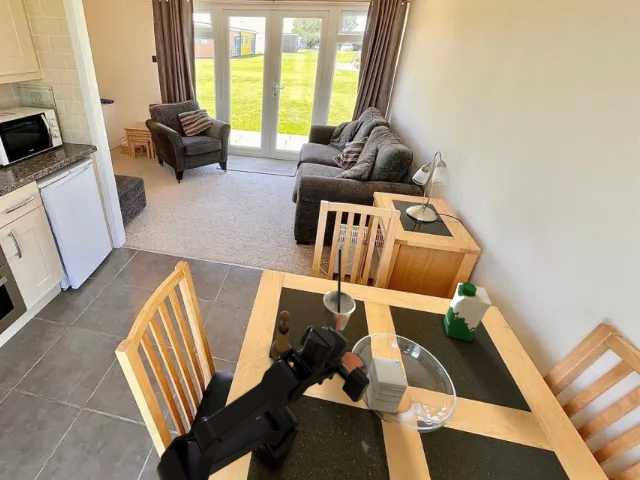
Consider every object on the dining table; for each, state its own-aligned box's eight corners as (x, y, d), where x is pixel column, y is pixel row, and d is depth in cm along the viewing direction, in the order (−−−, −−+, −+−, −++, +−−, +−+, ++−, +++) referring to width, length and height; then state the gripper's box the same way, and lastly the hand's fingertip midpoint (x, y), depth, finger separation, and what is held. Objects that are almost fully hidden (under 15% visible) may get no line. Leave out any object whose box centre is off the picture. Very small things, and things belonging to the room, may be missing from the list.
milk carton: (440, 317, 115) (458, 275, 106) (468, 324, 113) (489, 282, 103) (444, 337, 108) (464, 294, 98) (474, 345, 105) (498, 302, 96)
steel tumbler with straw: (326, 314, 115) (339, 247, 101) (354, 333, 108) (372, 265, 94) (308, 331, 108) (319, 262, 94) (337, 353, 101) (353, 282, 87)
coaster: (355, 386, 91) (356, 386, 91) (328, 366, 97) (328, 365, 97) (369, 365, 98) (369, 364, 97) (342, 346, 103) (342, 346, 103)
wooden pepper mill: (290, 364, 97) (295, 324, 89) (269, 360, 98) (272, 319, 90) (292, 346, 103) (297, 306, 94) (272, 342, 104) (276, 302, 95)
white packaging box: (363, 383, 92) (372, 355, 87) (390, 387, 92) (400, 359, 86) (368, 409, 86) (378, 381, 80) (396, 414, 85) (408, 386, 79)
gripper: (360, 374, 64) (395, 355, 75) (299, 313, 78) (335, 304, 88) (339, 414, 67) (375, 391, 77) (283, 349, 80) (320, 336, 91)
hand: (350, 352), depth 83 cm, fingers open, 9 cm apart
